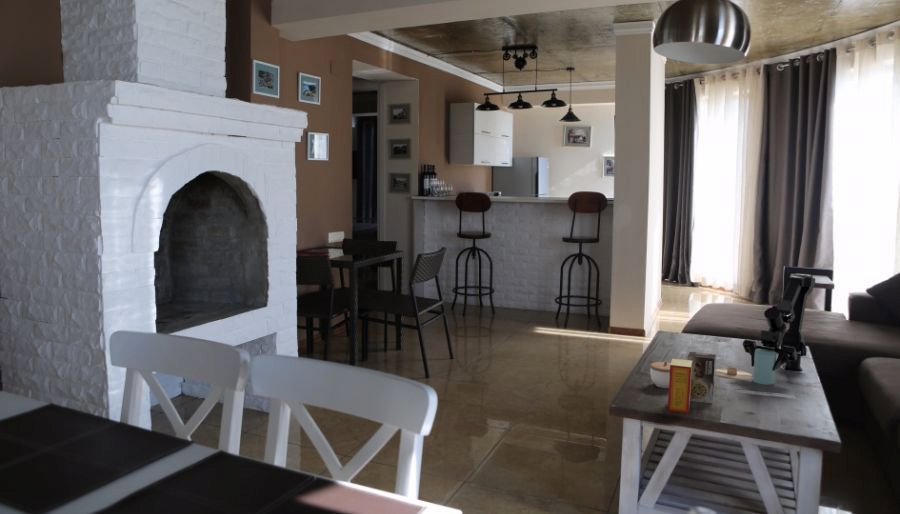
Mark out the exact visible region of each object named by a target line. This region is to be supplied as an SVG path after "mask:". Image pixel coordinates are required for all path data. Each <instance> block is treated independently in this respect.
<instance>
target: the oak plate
mask: <svg viewBox="0 0 900 514" xmlns="http://www.w3.org/2000/svg"><path fill="white" fill-rule="evenodd" d="M716 376H717V377H720V378H723V379H730V380H737V381H738V380H739V381H740V380H743V381H744V380H750V379H753V374H751V373H749V372H747V371H744V370H739V369H737V375H729V374H727V368H717V369H716V368H715V377H716Z"/></svg>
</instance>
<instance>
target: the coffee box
mask: <svg viewBox="0 0 900 514" xmlns="http://www.w3.org/2000/svg"><path fill="white" fill-rule="evenodd" d="M716 359H717V354H714V353H705V352H694V351H690V352H689V353H688V355H687V360H692V377H691V394H690V402H696V403H703V402H704V403H705V404H711V405H712V404H714V401H715V387H716V386H715V385H716V383H715V382H716V381H715V380H716V375H715V369H716V364H717V361H716Z"/></svg>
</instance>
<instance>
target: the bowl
mask: <svg viewBox="0 0 900 514" xmlns="http://www.w3.org/2000/svg"><path fill="white" fill-rule="evenodd" d="M726 369H727V374H729V375H737V370H738V367H736V366H727V368H726Z"/></svg>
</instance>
